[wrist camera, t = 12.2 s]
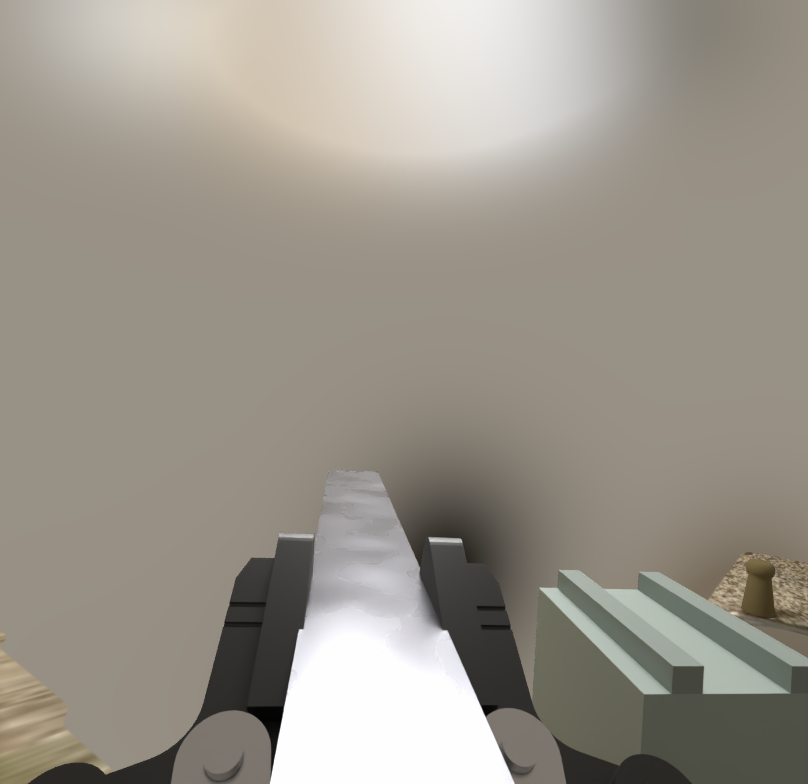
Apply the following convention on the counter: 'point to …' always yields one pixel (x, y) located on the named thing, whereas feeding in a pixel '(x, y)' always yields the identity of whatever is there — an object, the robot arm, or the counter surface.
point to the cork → (759, 589)
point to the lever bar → (377, 663)
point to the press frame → (669, 682)
